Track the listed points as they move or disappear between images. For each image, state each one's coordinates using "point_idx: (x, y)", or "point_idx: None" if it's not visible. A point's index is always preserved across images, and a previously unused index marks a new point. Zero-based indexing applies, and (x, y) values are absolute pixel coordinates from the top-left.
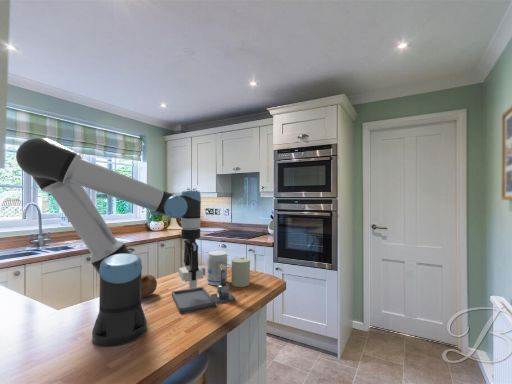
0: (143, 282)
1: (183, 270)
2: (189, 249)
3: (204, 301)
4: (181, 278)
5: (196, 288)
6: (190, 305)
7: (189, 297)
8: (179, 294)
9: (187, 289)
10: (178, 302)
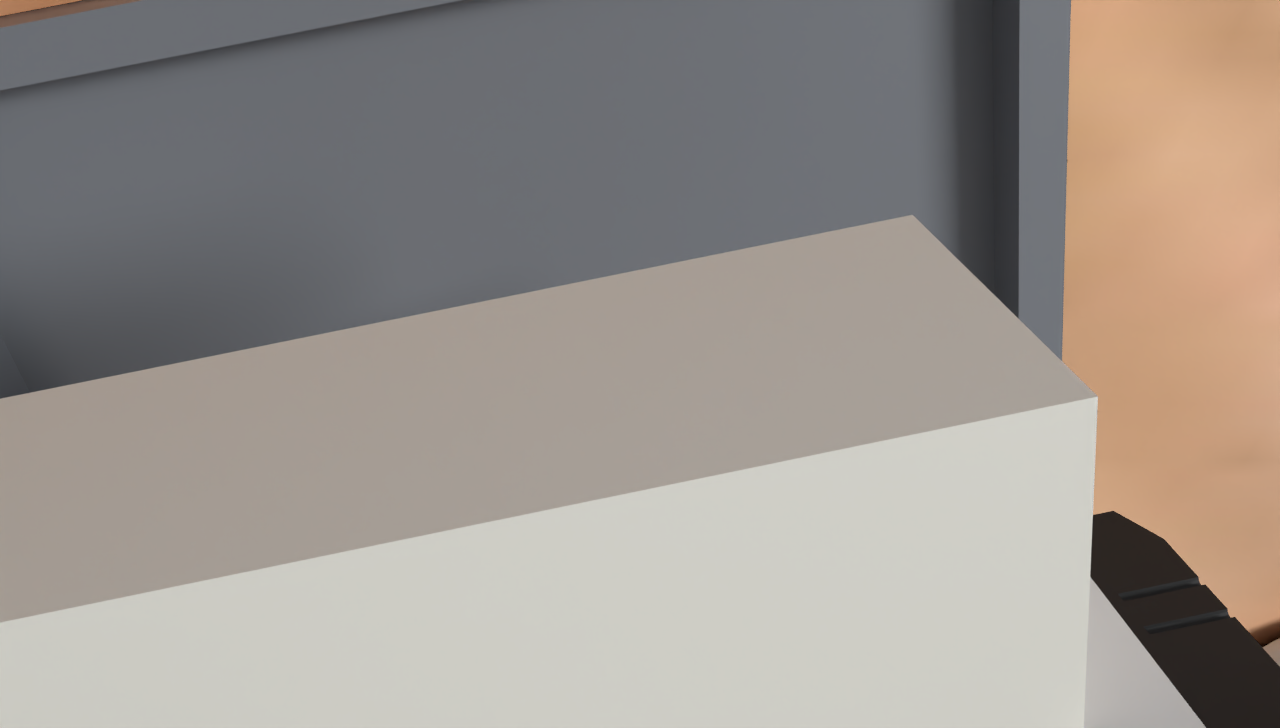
0: None
1: (324, 695)
2: None
3: None
4: (203, 370)
5: None
6: (149, 297)
7: None
8: (903, 41)
9: (1031, 254)
10: (175, 33)
